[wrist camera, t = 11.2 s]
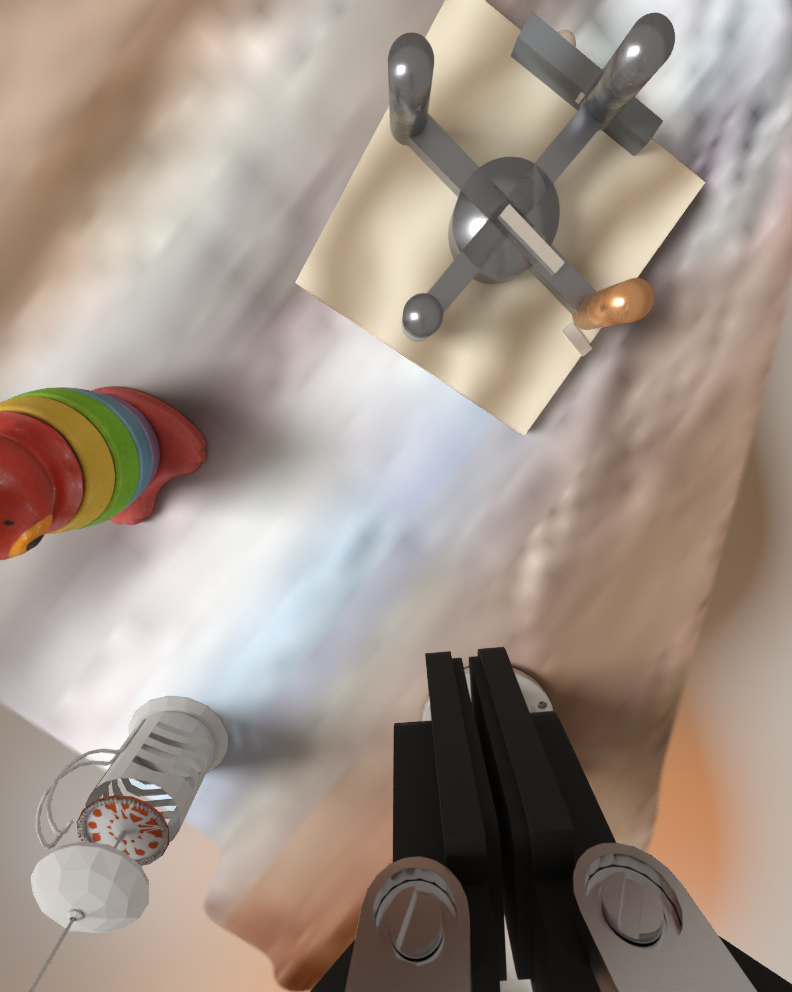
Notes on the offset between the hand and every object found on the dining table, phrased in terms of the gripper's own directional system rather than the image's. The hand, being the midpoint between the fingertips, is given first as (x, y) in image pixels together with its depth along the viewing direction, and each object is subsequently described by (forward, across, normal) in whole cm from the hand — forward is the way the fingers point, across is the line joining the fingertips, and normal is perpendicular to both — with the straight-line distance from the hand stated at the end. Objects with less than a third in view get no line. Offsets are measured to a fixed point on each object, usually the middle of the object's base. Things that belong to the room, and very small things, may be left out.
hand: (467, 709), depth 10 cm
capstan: (+27, -7, -15) cm, 32 cm away
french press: (+29, +26, +25) cm, 47 cm away
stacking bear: (+29, +23, -3) cm, 37 cm away
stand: (+29, -7, -15) cm, 33 cm away
